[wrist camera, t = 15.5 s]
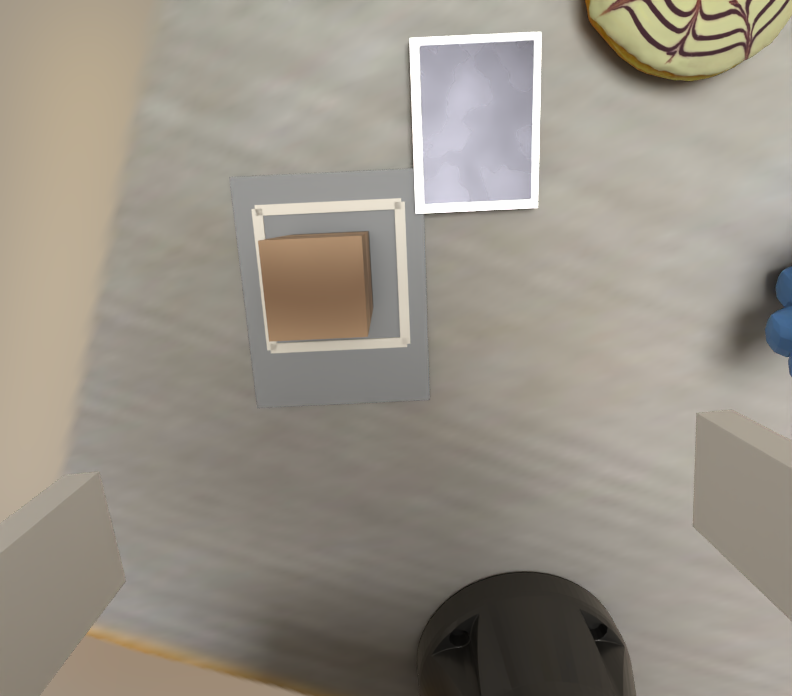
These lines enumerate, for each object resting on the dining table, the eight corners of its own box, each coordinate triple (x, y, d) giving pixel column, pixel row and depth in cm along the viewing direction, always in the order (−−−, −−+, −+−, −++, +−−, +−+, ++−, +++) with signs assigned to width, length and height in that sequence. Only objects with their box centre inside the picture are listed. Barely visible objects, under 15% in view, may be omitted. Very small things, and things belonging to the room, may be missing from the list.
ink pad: (533, 208, 30) (539, 207, 29) (415, 213, 30) (416, 213, 29) (536, 37, 28) (543, 28, 27) (408, 44, 28) (409, 35, 27)
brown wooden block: (373, 306, 31) (367, 337, 23) (299, 310, 31) (269, 341, 23) (369, 230, 30) (361, 235, 22) (292, 234, 30) (257, 240, 22)
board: (429, 396, 33) (430, 401, 32) (259, 404, 33) (256, 409, 32) (421, 168, 30) (422, 167, 29) (232, 177, 30) (228, 176, 29)
